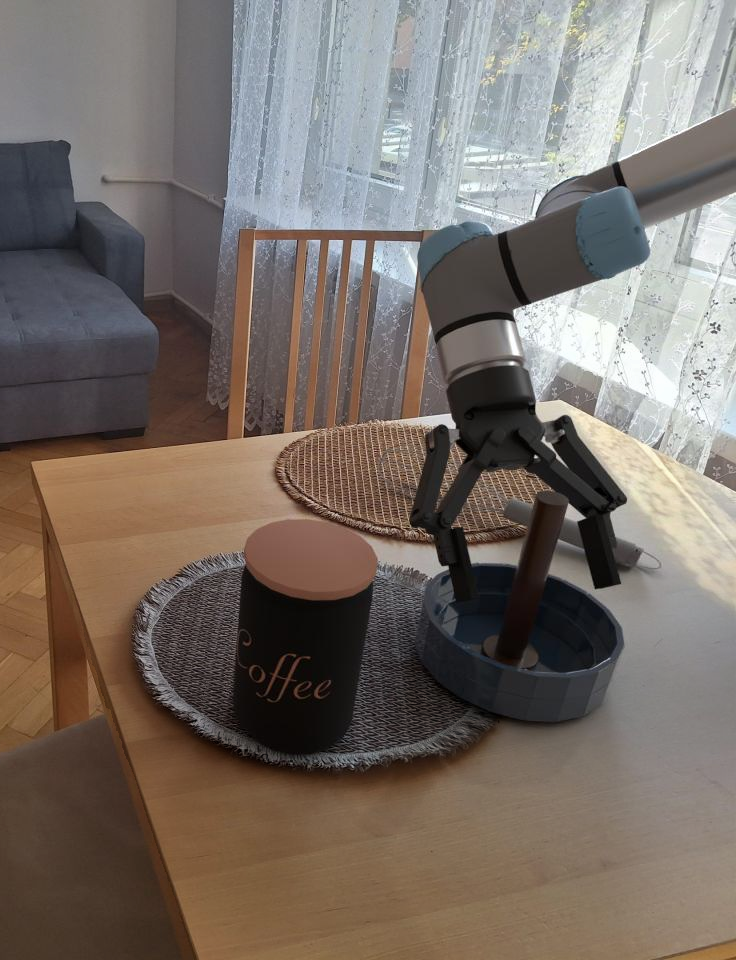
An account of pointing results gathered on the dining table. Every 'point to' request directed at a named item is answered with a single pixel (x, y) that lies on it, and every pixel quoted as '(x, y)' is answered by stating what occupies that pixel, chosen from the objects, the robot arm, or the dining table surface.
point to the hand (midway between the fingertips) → (538, 594)
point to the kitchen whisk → (522, 513)
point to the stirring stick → (528, 584)
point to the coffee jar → (301, 633)
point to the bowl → (555, 636)
